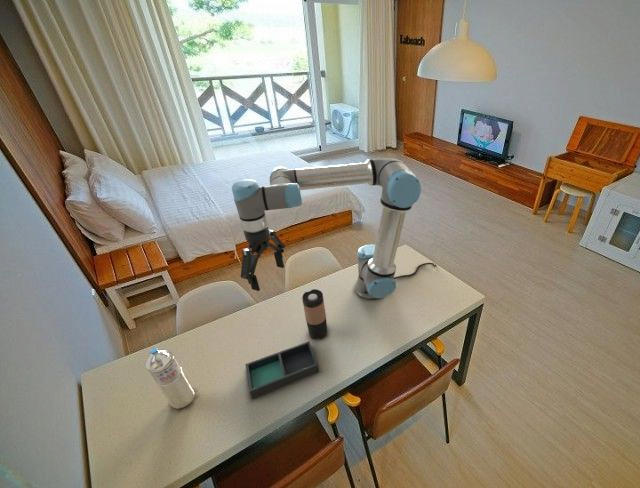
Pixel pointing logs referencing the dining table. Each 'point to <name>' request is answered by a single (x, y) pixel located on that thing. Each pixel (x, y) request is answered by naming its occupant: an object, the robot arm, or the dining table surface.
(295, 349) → the divided organizer tray
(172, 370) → the water bottle
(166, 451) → the dining table surface
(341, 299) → the dining table surface
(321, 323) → the travel mug
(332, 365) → the dining table surface
